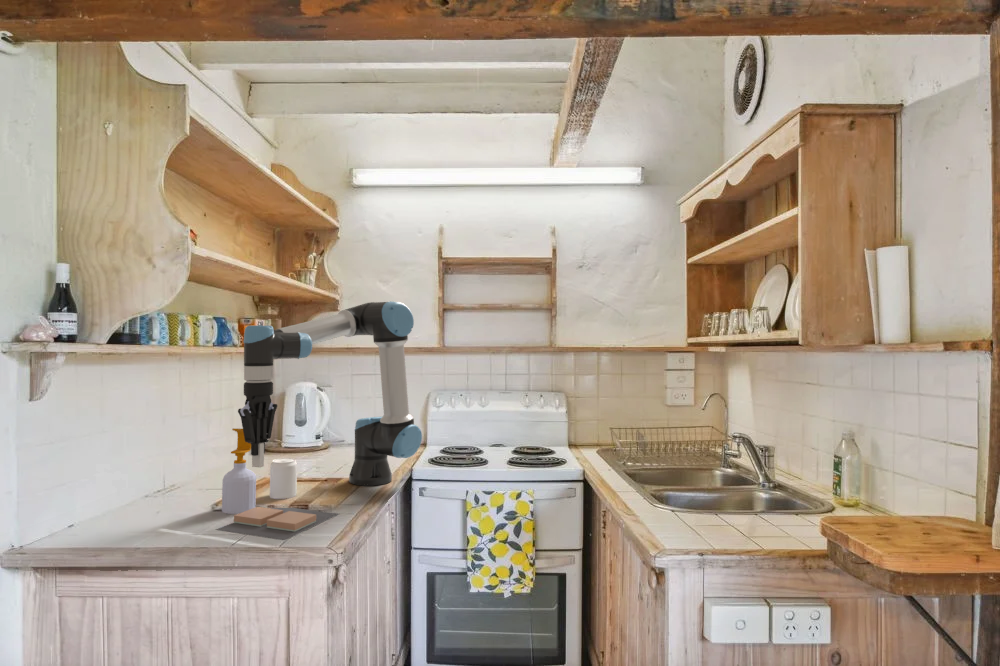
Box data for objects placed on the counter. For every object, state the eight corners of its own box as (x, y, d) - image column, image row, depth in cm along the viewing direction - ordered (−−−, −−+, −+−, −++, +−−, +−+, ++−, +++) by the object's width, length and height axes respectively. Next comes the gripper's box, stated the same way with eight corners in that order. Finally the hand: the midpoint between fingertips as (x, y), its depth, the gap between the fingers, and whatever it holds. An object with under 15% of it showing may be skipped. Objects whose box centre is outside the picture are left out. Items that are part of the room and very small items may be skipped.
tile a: (289, 510, 164) (266, 520, 156) (316, 514, 161) (295, 524, 153) (289, 518, 164) (266, 528, 156) (316, 522, 161) (294, 532, 153)
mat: (277, 507, 177) (277, 505, 177) (339, 516, 170) (339, 514, 170) (215, 531, 154) (215, 529, 154) (284, 542, 147) (284, 540, 147)
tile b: (257, 506, 168) (233, 515, 159) (283, 510, 165) (260, 519, 156) (257, 514, 168) (233, 523, 159) (283, 517, 165) (260, 527, 156)
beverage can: (263, 499, 185) (264, 461, 186) (281, 493, 193) (282, 456, 193) (285, 502, 183) (285, 463, 183) (301, 495, 191) (302, 458, 191)
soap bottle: (216, 515, 168) (218, 429, 168) (230, 506, 177) (232, 425, 177) (247, 516, 168) (249, 430, 168) (260, 507, 177) (262, 425, 177)
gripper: (264, 378, 169) (263, 460, 169) (229, 382, 156) (229, 470, 156) (285, 379, 166) (285, 462, 166) (252, 383, 154) (251, 473, 154)
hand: (257, 466), depth 161 cm, fingers closed
